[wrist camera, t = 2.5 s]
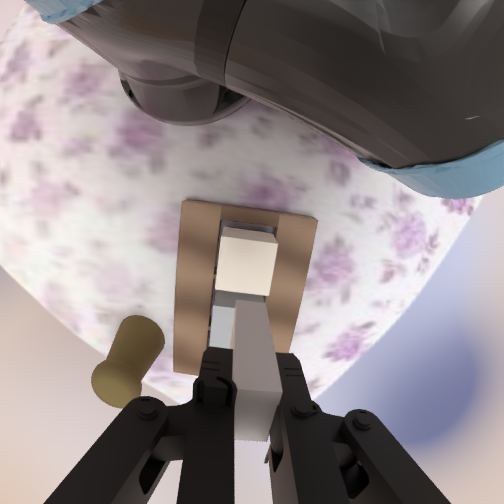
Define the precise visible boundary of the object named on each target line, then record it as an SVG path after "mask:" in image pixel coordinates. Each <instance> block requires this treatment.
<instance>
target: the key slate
mask: <svg viewBox="0 0 504 504" xmlns="http://www.w3.org/2000/svg"><path fill="white" fill-rule="evenodd" d="M236 299H237V300H245V301H253V302H262V303H264V298H263V295H256V294H248V293H239V292H231V291H224V290H216V294H215V299H214V304H213V313H212V323H211V333H210V344H209V346H212V347H220V348H228V349H230V341H231V334H232V327H233V319H234V312H235V305H236Z"/></svg>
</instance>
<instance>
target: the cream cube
mask: <svg viewBox="0 0 504 504" xmlns="http://www.w3.org/2000/svg"><path fill="white" fill-rule="evenodd" d="M277 247H278V243H277V241H276V239H275V237H274V235H273V233H266V232H259V231H251V230H244V229H237V228H229V227H224V229H223V232H222V235H221V241H220V250H219V258H218V266H217V275H216V284H215V289H216V290H224V291H231V292H239V293H248V294H256V295H265V296H269V292H270V287H271V281H272V276H273V270H274V265H275V259H276V253H277Z"/></svg>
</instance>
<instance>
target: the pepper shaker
mask: <svg viewBox="0 0 504 504" xmlns="http://www.w3.org/2000/svg"><path fill="white" fill-rule="evenodd" d="M164 344H165V339H164V334H163V332H162V330H161V329H160V327H159V326H158V325H157V324H156V323H155V322H153V321H152V320H150V319H149V318H146V317H143V316H137V315H134V316H130V317H127V318H126V319H124V320H123V322H122V323H121V325H120V327H119V329H118V332H117V334H116V337H115V339H114V341H113V344H112V346H111V349H110V351H109V354H108V356H107V359H106V360H105V361H103V362H101V363H100V364H98V365H97V367H96V368H95V369H94V371H93V373H92V377H91V378H92V379H91V383H92V387H93V390H94V392H95V393H96V395H97V396H98V397H99V398H100V399H101V400H102V401H103V402H105V403H106V404H108V405H110V406H113V407H116V408H124V407H125V406H126V405H127V404H128V403H129V402H130V401H131V400H132V399H134V398H137V397H140V395H141V390H142V384H141V380H142V379H143V377H144V376H145V374H146V373H147V371H148V370H149V368H150V367H151V365H152V364H153V362H154V361H155V359H156V358H157V357H158V355H159V354H160V352H161V351H162V349H163V348H164Z"/></svg>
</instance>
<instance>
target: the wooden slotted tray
mask: <svg viewBox="0 0 504 504" xmlns="http://www.w3.org/2000/svg"><path fill="white" fill-rule="evenodd" d="M221 220H229V221H236V222H243V223H251V224H258V225H265V226H272V227H275V230H274V237H275V239H276V241H277V243H278V247H277V253H276V259H275V265H274V270H273V276H272V281H271V287H270V292H269V296H265V295H263V298H264V303H266V306H267V311H268V316H269V322H270V327H271V332H272V338H273V343H274V348H275V352H279V353H289V349H290V345H291V341H292V337H293V333H294V329H295V325H296V321H297V317H298V313H299V308H300V304H301V300H302V295H303V291H304V287H305V282H306V277H307V273H308V268H309V263H310V258H311V254H312V249H313V244H314V238H315V233H316V228H317V223H318V220H317V219H315V218H313V217H309V216H302V215H296V214H290V213H283V212H277V211H270V210H263V209H256V208H249V207H242V206H235V205H227V204H219V203H211V202H203V201H195V200H184V201H182V210H181V220H180V231H179V242H178V255H177V269H176V286H175V308H174V347H173V372H177V373H183V374H189V375H196V376H199V372H200V367H201V362H202V356H203V352H204V351H205V350H206V349H207V345H208V334H209V331H211V323H212V318H210V313H211V303H212V293H213V284H214V279H216V275H217V268H215V266H216V257H217V248H218V240H219V232H220V224H221Z"/></svg>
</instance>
